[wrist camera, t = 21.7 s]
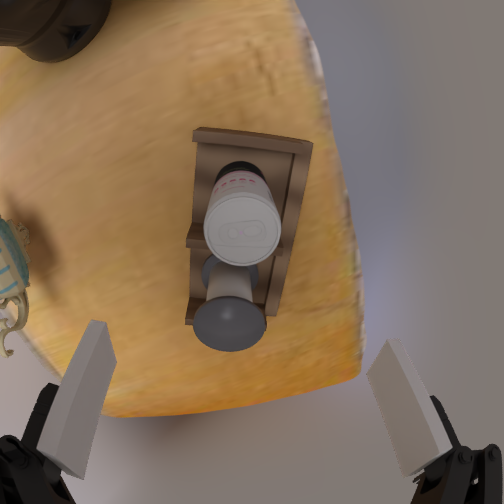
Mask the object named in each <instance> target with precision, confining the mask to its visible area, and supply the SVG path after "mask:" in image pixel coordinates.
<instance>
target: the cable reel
mask: <svg viewBox="0 0 504 504" xmlns="http://www.w3.org/2000/svg"><path fill="white" fill-rule="evenodd" d="M201 277H202V282H203V284H204V286H205V288H206V289H207V290H208V291H207V299H206V302H204V303H203V304H202V305H201V306H200V307H199V308H198V309H197V311H196V313H195V316H194V321H193V329H194V332H195V334H196V336H197V337H198V339H199V340H200V341H201V342H202V343H204V344H205V345H207V346H208V347H210V348H213V349H216V350H219V351H226V352H233V351H240V350H244V349H247V348H249V347H251V346H253V345H254V344H256V343H257V342H258V341H259V340H260V339H261V337H262V336H263V334H264V331H265V321H264V316H263V313H262V312H261V310H260V309H259V307H258V306H256V305H255V304H254V303H253V301H252V291H253V290H254V288H255V287H256V285H257V283H258V277H259V275H258V268H257V265H256V264H253V265H248V266H236V265H231V264H228V263H226V262H224V261H222V260H220V259H219V258H217V257H216V256H215V255H214V254H211V255H210V256H209V257H208V258H207V259H206V261H205V262H204V264H203V268H202V274H201Z"/></svg>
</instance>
